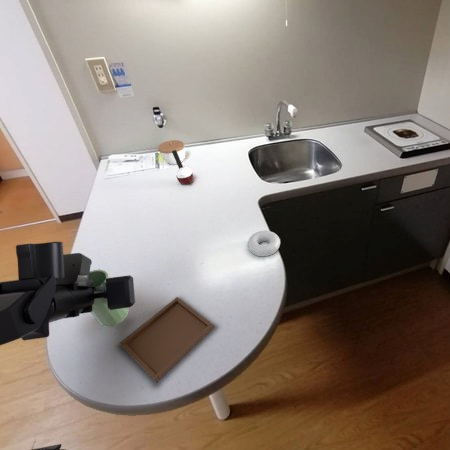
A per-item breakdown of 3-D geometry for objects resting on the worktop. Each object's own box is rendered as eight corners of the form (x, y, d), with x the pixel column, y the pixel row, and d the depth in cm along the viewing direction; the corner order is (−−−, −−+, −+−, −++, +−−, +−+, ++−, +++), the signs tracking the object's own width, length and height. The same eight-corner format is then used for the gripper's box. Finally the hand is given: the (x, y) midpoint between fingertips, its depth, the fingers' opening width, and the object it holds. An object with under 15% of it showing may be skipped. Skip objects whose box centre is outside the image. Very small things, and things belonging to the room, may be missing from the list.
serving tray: (156, 383, 64) (154, 379, 63) (122, 346, 70) (119, 343, 69) (214, 328, 73) (212, 324, 72) (178, 300, 80) (177, 296, 78)
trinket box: (183, 153, 143) (178, 134, 137) (191, 162, 136) (186, 142, 130) (160, 160, 138) (153, 140, 132) (167, 169, 132) (160, 149, 125)
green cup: (106, 332, 68) (80, 299, 60) (93, 316, 71) (68, 282, 63) (133, 313, 71) (113, 279, 64) (121, 298, 74) (99, 265, 67)
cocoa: (194, 186, 121) (186, 159, 113) (177, 189, 120) (169, 161, 112) (194, 174, 128) (187, 148, 120) (179, 176, 127) (171, 150, 119)
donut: (256, 233, 100) (242, 254, 92) (255, 225, 97) (241, 246, 90) (285, 240, 97) (273, 261, 90) (284, 232, 95) (272, 253, 88)
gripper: (110, 249, 54) (145, 250, 70) (-6, 263, 52) (56, 261, 67) (115, 313, 53) (149, 300, 69) (-3, 330, 51) (59, 312, 66)
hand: (104, 292), depth 68 cm, fingers closed on green cup, 6 cm apart
